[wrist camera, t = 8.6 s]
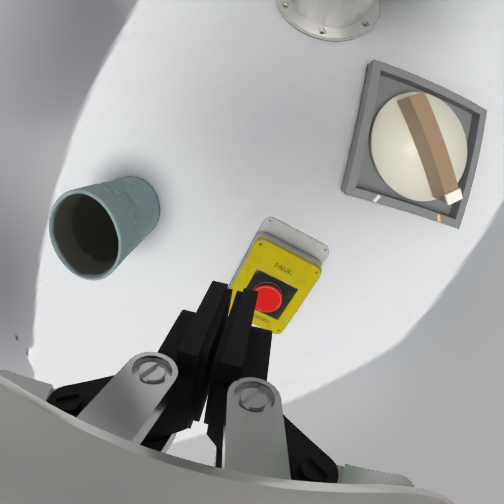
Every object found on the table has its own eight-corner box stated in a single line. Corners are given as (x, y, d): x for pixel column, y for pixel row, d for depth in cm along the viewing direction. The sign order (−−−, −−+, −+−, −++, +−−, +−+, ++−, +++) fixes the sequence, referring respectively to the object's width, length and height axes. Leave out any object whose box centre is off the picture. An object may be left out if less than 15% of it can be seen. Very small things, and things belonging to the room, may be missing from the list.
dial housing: (367, 65, 29) (374, 59, 26) (474, 110, 28) (487, 110, 25) (340, 189, 35) (345, 194, 32) (448, 222, 34) (459, 229, 31)
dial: (350, 113, 30) (361, 109, 25) (438, 81, 27) (461, 75, 22) (392, 214, 34) (408, 228, 29) (472, 178, 30) (497, 186, 25)
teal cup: (169, 177, 37) (122, 196, 26) (162, 250, 41) (121, 291, 30) (104, 168, 37) (46, 184, 26) (102, 236, 41) (51, 269, 30)
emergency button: (212, 320, 39) (264, 222, 34) (219, 304, 43) (267, 212, 38) (274, 349, 40) (336, 260, 34) (276, 331, 44) (331, 247, 38)
